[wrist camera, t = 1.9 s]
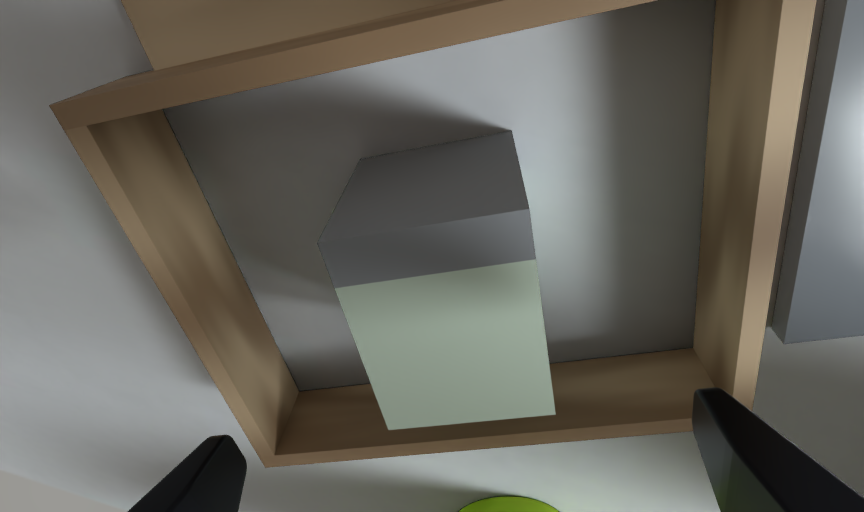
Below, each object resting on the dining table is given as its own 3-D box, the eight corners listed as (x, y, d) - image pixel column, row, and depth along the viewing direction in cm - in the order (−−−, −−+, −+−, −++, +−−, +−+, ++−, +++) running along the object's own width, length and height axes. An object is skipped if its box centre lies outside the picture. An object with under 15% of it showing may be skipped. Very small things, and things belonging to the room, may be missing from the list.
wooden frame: (705, 415, 20) (740, 485, 17) (314, 450, 22) (294, 515, 20) (763, -246, 10) (866, -313, 7) (63, -46, 13) (-40, -44, 10)
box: (534, 299, 17) (555, 414, 13) (407, 315, 18) (388, 430, 14) (511, 130, 14) (529, 208, 10) (360, 159, 15) (317, 243, 11)
